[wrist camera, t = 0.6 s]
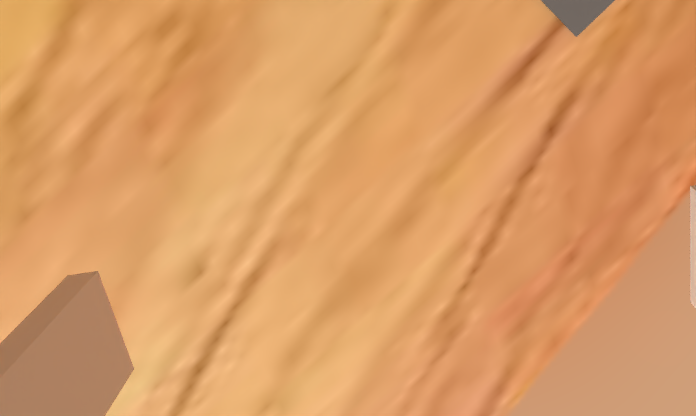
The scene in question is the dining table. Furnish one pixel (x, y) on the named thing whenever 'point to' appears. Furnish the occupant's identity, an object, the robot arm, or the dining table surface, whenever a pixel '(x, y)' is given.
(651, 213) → the dining table surface
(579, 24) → the mat
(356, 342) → the dining table surface
